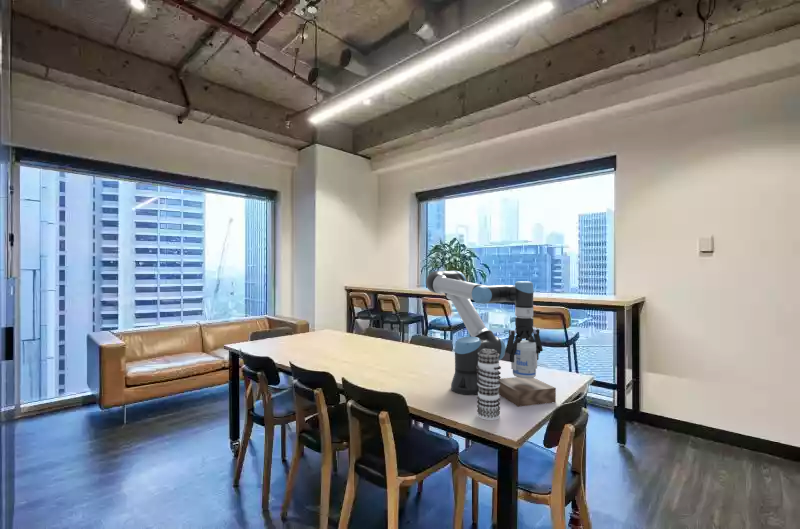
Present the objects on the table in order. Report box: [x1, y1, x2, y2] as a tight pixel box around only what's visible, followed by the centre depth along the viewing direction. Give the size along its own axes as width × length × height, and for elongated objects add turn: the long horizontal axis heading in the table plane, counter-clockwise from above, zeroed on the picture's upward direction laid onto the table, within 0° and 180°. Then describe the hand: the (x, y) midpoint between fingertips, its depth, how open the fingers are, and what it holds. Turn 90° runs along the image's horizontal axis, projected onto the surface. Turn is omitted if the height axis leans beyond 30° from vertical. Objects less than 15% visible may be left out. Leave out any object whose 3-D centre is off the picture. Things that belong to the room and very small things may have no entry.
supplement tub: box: [512, 339, 537, 378], centre depth 166 cm, size 10×10×15 cm
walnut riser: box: [498, 376, 557, 408], centre depth 166 cm, size 18×18×6 cm
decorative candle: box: [476, 349, 502, 421], centre depth 145 cm, size 9×9×25 cm
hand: (524, 368), depth 166 cm, fingers closed on supplement tub, 10 cm apart
